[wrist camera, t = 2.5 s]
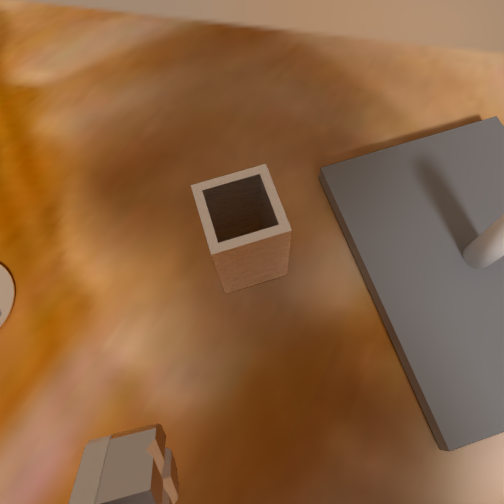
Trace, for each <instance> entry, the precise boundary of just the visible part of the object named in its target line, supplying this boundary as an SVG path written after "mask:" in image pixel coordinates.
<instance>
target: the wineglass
mask: <svg viewBox="0 0 504 504" xmlns="http://www.w3.org/2000/svg"><path fill="white" fill-rule="evenodd" d="M14 299H15V285H14V282H13V279H12V276H11V275H10V273H9V271H8V270H7V269H6V268H5V267H4V266H3V265H1V264H0V329H1V327H2V326H3V325H4V323H5V322H6V320H7V318H8V317H9V315H10V313H11V310H12V307H13V304H14Z"/></svg>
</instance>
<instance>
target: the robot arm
mask: <svg viewBox="0 0 504 504" xmlns="http://www.w3.org/2000/svg"><path fill="white" fill-rule="evenodd" d="M165 443H166V435H165V432H164V430H163V428H162V425H160V424H154V425H150V426H146V427H141V428H137V429H133V430H129V431H124V432H120V433H116V434H113V435H110V436H106V437H102V438H97V439H93V440H90V441H89V442H88V443H87V445H86V446H85V448H84V452H83V455H82V458H81V462H80V465H79V469H78V472H77V476H76V479H75V482H74V486H73V489H72V493H71V496H70V500H69V503H68V504H175V502H176V500H177V499H178V497H179V483H178V474H177V467H176V463H175V459H174V456H173V453H172V451H171V450H170V449H168V448H166V447H165Z"/></svg>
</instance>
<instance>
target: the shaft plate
mask: <svg viewBox="0 0 504 504" xmlns="http://www.w3.org/2000/svg"><path fill="white" fill-rule="evenodd" d="M319 180H320V182H321V184H322V186H323V189H324V191H325V193H326V195H327V197H328V200H329V202H330V204H331V206H332V209H333V211H334V213H335V215H336V218H337V220H338V222H339V224H340V227H341V229H342V231H343V233H344V236H345V238H346V240H347V242H348V244H349V247H350V249H351V251H352V253H353V256H354V258H355V260H356V262H357V265H358V267H359V269H360V271H361V274H362V276H363V278H364V280H365V283H366V285H367V287H368V289H369V291H370V294H371V296H372V298H373V300H374V303H375V305H376V307H377V309H378V312H379V314H380V316H381V318H382V321H383V323H384V325H385V327H386V329H387V332H388V334H389V336H390V338H391V341H392V343H393V345H394V347H395V350H396V352H397V354H398V356H399V359H400V361H401V363H402V365H403V368H404V370H405V372H406V374H407V376H408V379H409V381H410V383H411V385H412V388H413V390H414V392H415V394H416V397H417V399H418V401H419V403H420V406H421V408H422V410H423V412H424V415H425V417H426V419H427V421H428V423H429V426H430V428H431V430H432V432H433V435H434V437H435V439H436V441H437V444H438V446H439V448H440V450H445V451H452V450H455V449H457V448H460V447H463V446H466V445H469V444H471V443H474V442H477V441H480V440H483V439H485V438H488V437H491V436H494V435H496V434H499V433H502V432H504V126H503V125H502V123H501V122H500V121H499V119H498V118H497V116H496V117H492V118H489V119H485V120H482V121H478V122H475V123H472V124H468V125H465V126H461V127H458V128H454V129H451V130H448V131H444V132H441V133H437V134H434V135H430V136H427V137H424V138H420V139H417V140H413V141H410V142H406V143H403V144H400V145H396V146H393V147H389V148H386V149H382V150H379V151H376V152H372V153H369V154H365V155H362V156H358V157H355V158H352V159H348V160H345V161H341V162H338V163H334V164H331V165H328V166H324V167H321V168H320V173H319Z"/></svg>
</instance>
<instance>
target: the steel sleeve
mask: <svg viewBox="0 0 504 504" xmlns="http://www.w3.org/2000/svg"><path fill="white" fill-rule="evenodd" d="M191 188H192V192H193V195H194V198H195V202H196V205H197V209H198V212H199V215H200V219H201V222H202V226H203V229H204V233H205V236H206V239H207V243H208V246H209V250H210V253H211V256H212V259H213V261H214V264H215V267H216V270H217V272H218V275H219V278H220V281H221V283H222V286H223V289H224V292H225V294H227V293H230V292H233V291H236V290H240V289H243V288H246V287H249V286H252V285H256V284H259V283H262V282H265V281H268V280H272V279H275V278H278V277H281V276H285V275H287V269H288V261H289V252H290V243H291V234H292V229H291V227H290V224H289V222H288V219H287V216H286V214H285V211H284V209H283V206H282V204H281V201H280V199H279V196H278V193H277V191H276V188H275V186H274V183H273V181H272V178H271V176H270V173H269V170H268V168H267V165H266V164H263V165H259V166H256V167H252V168H249V169H245V170H242V171H238V172H235V173H231V174H228V175H225V176H221V177H218V178H214V179H211V180H207V181H204V182H200V183H197V184H193V185H191ZM260 229H263V230H260ZM256 230H259V231H256ZM253 231H256V232H253ZM250 232H253V233H250ZM246 233H250V234H246ZM243 234H246V235H243ZM240 235H243V236H240ZM236 236H240V237H236ZM233 237H236V238H233ZM230 238H233V239H230ZM226 239H230V240H226ZM223 240H226V241H223ZM220 241H223V242H220ZM218 242H220V243H218Z"/></svg>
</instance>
